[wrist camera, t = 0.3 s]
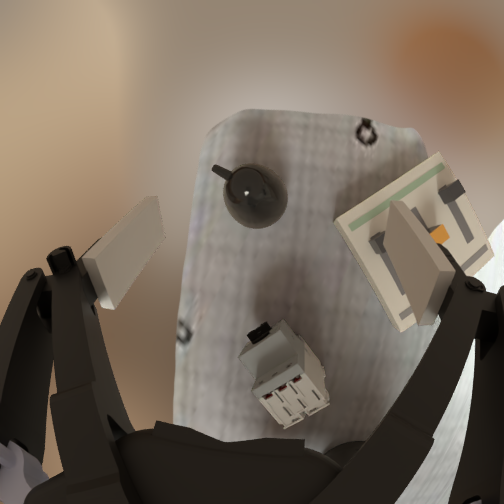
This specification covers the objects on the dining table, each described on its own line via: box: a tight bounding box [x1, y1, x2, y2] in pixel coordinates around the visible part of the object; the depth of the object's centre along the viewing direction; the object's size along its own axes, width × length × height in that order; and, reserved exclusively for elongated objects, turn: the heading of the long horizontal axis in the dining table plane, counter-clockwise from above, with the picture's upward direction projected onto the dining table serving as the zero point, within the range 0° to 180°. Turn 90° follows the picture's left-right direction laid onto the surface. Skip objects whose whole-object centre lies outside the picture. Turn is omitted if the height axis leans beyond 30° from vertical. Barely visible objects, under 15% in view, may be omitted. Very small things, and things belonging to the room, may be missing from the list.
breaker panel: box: [333, 151, 494, 333], centre depth 42 cm, size 22×24×9 cm
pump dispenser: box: [212, 163, 288, 229], centre depth 44 cm, size 10×10×15 cm
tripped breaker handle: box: [427, 224, 450, 244], centre depth 39 cm, size 2×3×5 cm
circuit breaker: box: [238, 319, 330, 429], centre depth 43 cm, size 8×14×15 cm, turn 37°
